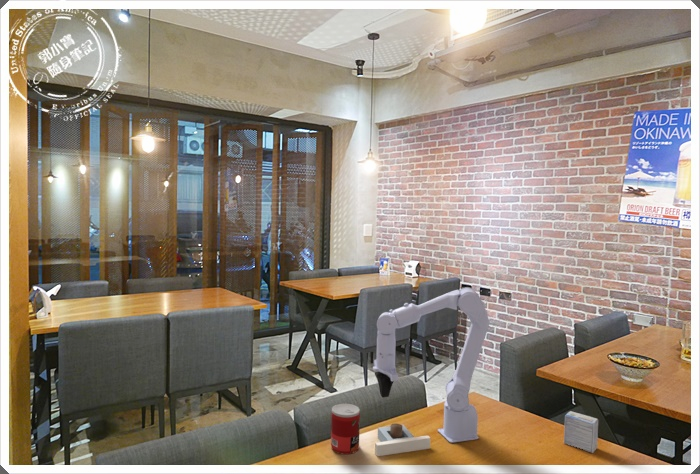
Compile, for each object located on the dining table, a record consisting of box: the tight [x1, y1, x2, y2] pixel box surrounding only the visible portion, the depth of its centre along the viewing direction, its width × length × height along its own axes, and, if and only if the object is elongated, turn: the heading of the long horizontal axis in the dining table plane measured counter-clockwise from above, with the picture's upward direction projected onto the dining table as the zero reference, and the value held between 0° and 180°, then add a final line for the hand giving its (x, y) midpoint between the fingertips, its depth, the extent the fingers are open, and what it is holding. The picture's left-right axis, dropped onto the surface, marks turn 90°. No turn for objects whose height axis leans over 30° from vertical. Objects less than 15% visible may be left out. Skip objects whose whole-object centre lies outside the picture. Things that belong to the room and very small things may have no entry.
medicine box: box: [563, 410, 599, 454], centre depth 131 cm, size 8×4×9 cm, turn 47°
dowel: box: [390, 423, 403, 439], centre depth 130 cm, size 3×3×5 cm
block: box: [377, 424, 415, 442], centre depth 130 cm, size 8×8×3 cm
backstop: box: [374, 434, 431, 457], centre depth 126 cm, size 16×2×3 cm, turn 108°
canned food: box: [330, 403, 361, 455], centre depth 126 cm, size 8×8×11 cm
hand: (384, 396), depth 138 cm, fingers closed
